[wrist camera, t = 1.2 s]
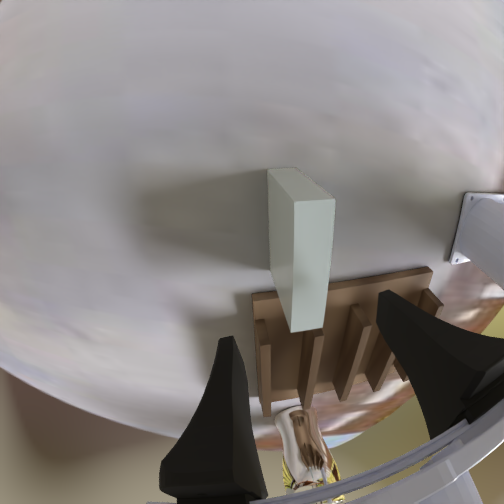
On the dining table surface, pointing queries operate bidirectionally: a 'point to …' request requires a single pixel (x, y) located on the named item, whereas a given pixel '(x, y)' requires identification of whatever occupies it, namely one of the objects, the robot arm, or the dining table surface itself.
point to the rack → (333, 339)
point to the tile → (300, 245)
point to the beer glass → (305, 453)
